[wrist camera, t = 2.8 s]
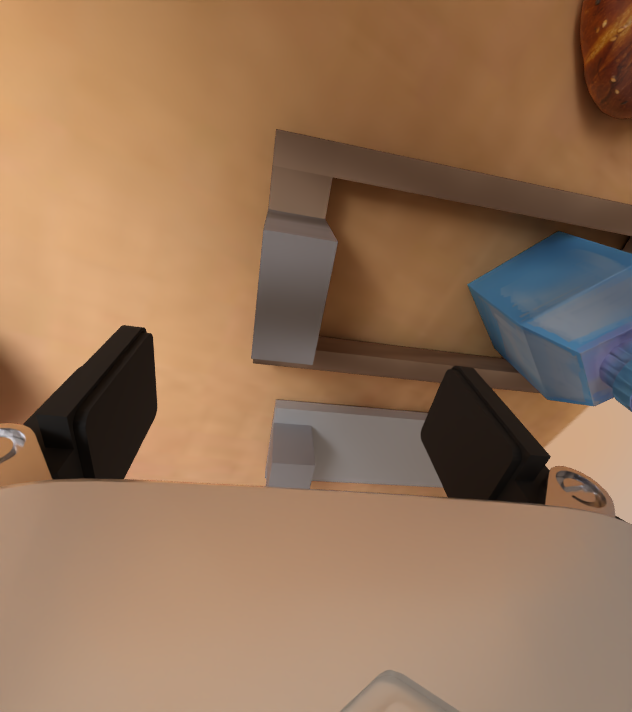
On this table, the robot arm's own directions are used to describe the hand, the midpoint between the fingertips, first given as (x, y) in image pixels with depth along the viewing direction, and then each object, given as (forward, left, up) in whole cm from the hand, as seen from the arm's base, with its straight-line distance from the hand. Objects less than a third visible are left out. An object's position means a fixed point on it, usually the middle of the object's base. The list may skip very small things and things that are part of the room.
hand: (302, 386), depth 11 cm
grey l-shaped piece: (+14, +10, -13) cm, 22 cm away
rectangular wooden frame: (-1, +10, -13) cm, 16 cm away
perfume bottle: (-1, +16, -13) cm, 21 cm away
